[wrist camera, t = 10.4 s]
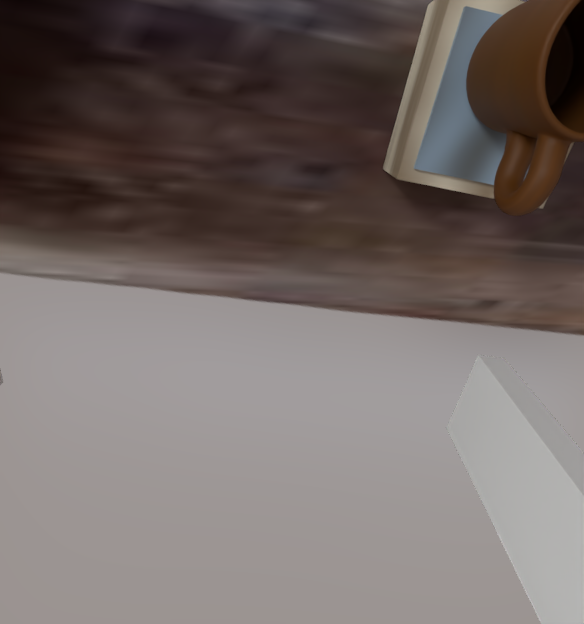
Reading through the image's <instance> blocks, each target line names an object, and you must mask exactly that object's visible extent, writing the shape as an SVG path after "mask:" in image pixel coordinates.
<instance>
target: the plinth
mask: <svg viewBox="0 0 584 624" xmlns="http://www.w3.org/2000/svg"><path fill="white" fill-rule="evenodd" d="M522 3H524V1H520V0H434V1H432V2H431V3H430V4H428V7H427V11H426V15H425V18H424V22H423V25H422V29H421V33H420V36H419V40H418V43H417V47H416V51H415V54H414V58H413V61H412V65H411V68H410V72H409V76H408V79H407V83H406V86H405V90H404V94H403V97H402V101H401V104H400V108H399V112H398V115H397V119H396V122H395V126H394V129H393V133H392V137H391V140H390V144H389V147H388V151H387V155H386V158H385V162H384V165H383V170H385V171H386V172H388V173H389V174H390V175H392V176H393V177H395V178H396V179H399V180H404V181H409V182H414V183H419V184H424V185H429V186H434V187H438V188H443V189H448V190H453V191H458V192H463V193H468V194H473V195H478V196H483V197H488V198H493V199H494V180H495V175H496V172H497V169H498V166H499V163H500V161H501V159H502V156H503V154H504V151H505V144H506V134H505V133H500V132H497V131H495V130H492V129H490V128H489V127H487V126H485V125H484V124H483V123H482V122H481V121H480V120H479V119H478V118H477V117H476V116H475V114H474V113H473V111H472V109H471V107H470V104H469V101H468V97H467V91H466V78H467V71H468V66H469V62H470V60H471V57H472V54H473V52H474V50H475V48H476V46H477V44H478V42H479V41H480V39H481V38H482V36H483V35H484V34H485V32H486V31H487V30H488V29H489V28H490V27H491V25H492V24H493V23H494V22H495V21H496V20H498V19H499V18H500V17H501V16H502V15H504V14H505V13H507V12H508V11H510V10H511V9H513V8H515V7H517V6H518V5H520V4H522ZM573 144H574V142H573V143H571V144H570V146H569V149H568V152H567V155H566V159H567V157H568V155H569V152H570V150H571V148H572V146H573ZM566 159H565V161H566ZM564 163H565V162H564ZM529 166H530V165H529ZM528 170H529V168H528ZM528 170H527V172H526V174H525V177H524V179H525V178H526V175H527V173H528ZM523 181H524V180H523ZM547 199H548V198H547ZM547 199H546V200H545V201H544V203H543V204H542V205H541V206H540V207H538V208H542V209H543V207H544V205H545V203H546V201H547Z"/></svg>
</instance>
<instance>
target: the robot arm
mask: <svg viewBox="0 0 584 624" xmlns="http://www.w3.org/2000/svg"><path fill="white" fill-rule="evenodd" d="M2 383H3V379H2V374H1V370H0V385H1V384H2ZM446 429H447V431H448V433H449V435H450V437H451V439H452V441H453V443H454V445H455V447H456V449H457V451H458V453H459V456H460V458H461V459H462V462H463V464H464V466H465V468H466V470H467V472H468V474H469V476H470V478H471V480H472V482H473V484H474V487H475V489H476V491H477V493H478V495H479V497H480V499H481V501H482V503H483V505H484V507H485V509H486V511H487V513H488V515H489V517H490V520H491V521H492V524H493V526H494V528H495V530H496V532H497V534H498V536H499V538H500V540H501V542H502V544H503V546H504V548H505V550H506V552H507V555H508V557H509V559H510V561H511V563H512V565H513V567H514V569H515V571H516V573H517V575H518V577H519V579H520V581H521V583H522V585H523V588H524V590H525V592H526V594H527V596H528V598H529V600H530V602H531V604H532V606H533V608H534V610H535V612H536V614H537V616H538V619H539V620H540V622H541V624H584V452H583V451H582V450H581V449H580V448H579V446H577V444H576V443H575V442H574V440H573V439H572V438H571V437H570V436H569V435H568V434H567V432H566V431H565V430H564V429H563V428H562V426H561V425H560V424H559V423H558V421H557V420H556V419H555V418H554V417H553V415H552V414H551V413H550V412H549V411H548V409H547V408H546V407H545V406H544V405H543V404H542V402H541V401H540V400H539V399H538V398H537V396H536V395H535V394H534V393H533V392H532V390H531V389H530V388H529V387H528V386H527V384H526V383H525V382H524V381H523V380H522V378H521V377H520V376H519V375H518V374H517V372H516V371H515V370H514V369H513V368H512V367H511V366H510V364H509V363H508V362H507V361H506V359H505V358H500V357H492V356H484V355H478V357H477V359H476V362H475V364H474V366H473V368H472V371H471V373H470V375H469V377H468V379H467V382H466V384H465V386H464V389H463V391H462V393H461V395H460V398H459V400H458V402H457V404H456V407H455V409H454V411H453V413H452V416H451V418H450V420H449V423H448V425H447V427H446Z"/></svg>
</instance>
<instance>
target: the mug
mask: <svg viewBox="0 0 584 624" xmlns="http://www.w3.org/2000/svg"><path fill="white" fill-rule="evenodd" d="M466 91H467V97H468V101H469V104H470V107H471V109H472V111H473V113H474V114H475V116H476V117H477V118H478V119H479V120H480V121H481V122H482V123H483V124H484V125H485V126H487V127H489V128H490V129H492V130H495V131H497V132H500V133H505V134H506V144H505V151H504V154H503V156H502V159H501V161H500V163H499V166H498V169H497V172H496V175H495V180H494V199H495V201H496V204H497V206H498V207H499V208H500V209H501V210H502V211H503V212H504V213H506V214H508V215H512V216H520V215H524V214H528V213H531V212H533V211H534V210H536V209H537V208H538V207H540V206H541V205H542V204H543V203H544V201H545V200H546V199H547V198H548V197H549V195H550V194H551V193H552V191H553V190H554V188H555V186H556V185H557V183H558V181H559V179H560V176H561V172H562V169H563V166H564V162H565V159H566V155H567V152H568V149H569V146H570V144H571V143H573V142H584V0H529V1H527V2H524V3H522V4H520V5H518V6H517V7H515V8H513V9H511V10H510V11H508V12H507V13H505V14H504V15H502V16H501V17H500V18H499V19H498V20H496V21H495V22H494V23H493V24H492V25H491V27H490V28H489V29H488V30H487V31H486V32H485V34H484V35H483V36H482V38H481V39H480V41H479V42H478V44H477V46H476V48H475V50H474V52H473V54H472V57H471V60H470V62H469V66H468V71H467V78H466ZM529 165H530V166H529ZM528 168H529V170H528ZM527 170H528V173H527V175H526V178H525V179H524V177H525V174H526V172H527ZM523 180H524V181H523Z"/></svg>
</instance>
